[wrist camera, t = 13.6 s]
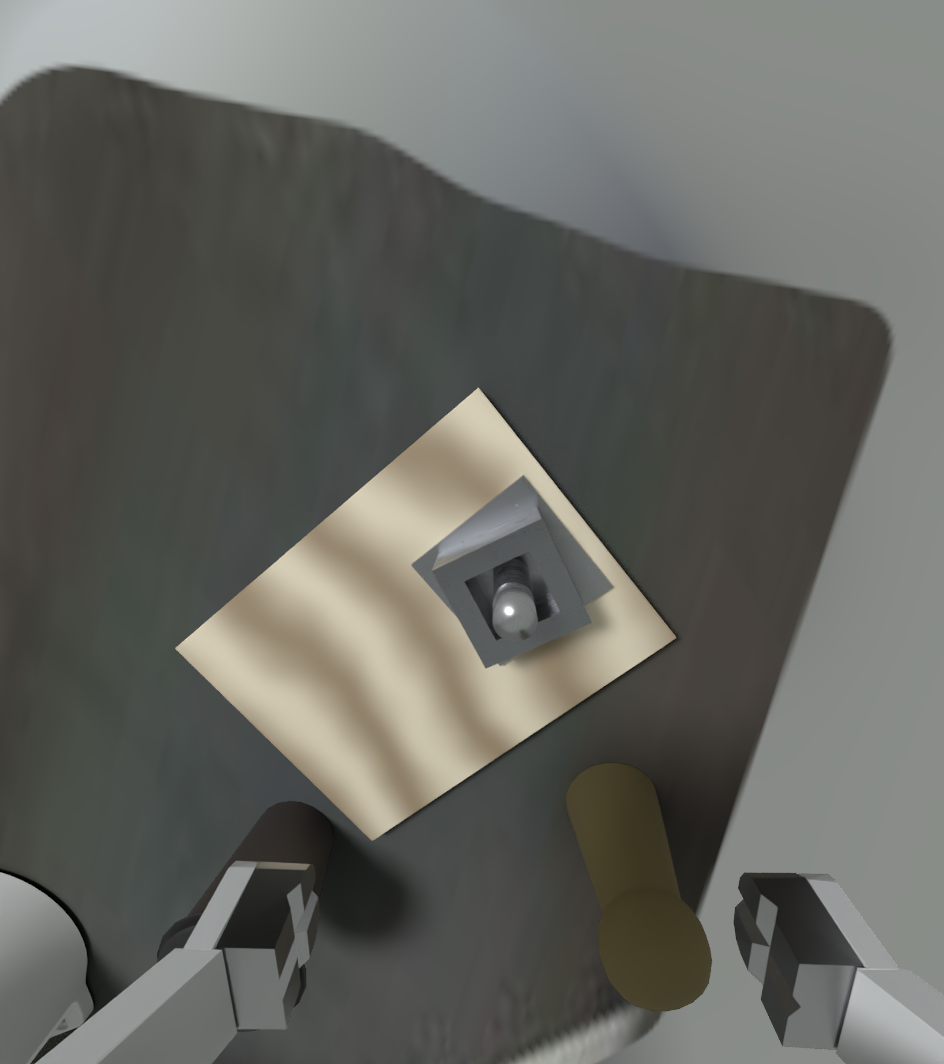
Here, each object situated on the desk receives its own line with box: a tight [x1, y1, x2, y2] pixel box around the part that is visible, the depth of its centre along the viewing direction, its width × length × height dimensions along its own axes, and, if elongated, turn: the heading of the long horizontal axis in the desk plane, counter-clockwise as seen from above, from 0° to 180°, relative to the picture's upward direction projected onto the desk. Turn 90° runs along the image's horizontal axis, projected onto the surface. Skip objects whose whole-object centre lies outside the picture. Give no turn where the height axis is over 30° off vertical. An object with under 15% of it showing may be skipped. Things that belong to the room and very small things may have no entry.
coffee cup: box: [157, 801, 333, 1032], centre depth 30 cm, size 8×8×10 cm
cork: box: [566, 763, 712, 1011], centre depth 28 cm, size 6×6×11 cm
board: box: [175, 388, 676, 841], centre depth 30 cm, size 24×18×1 cm
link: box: [432, 506, 592, 668], centre depth 27 cm, size 6×6×3 cm
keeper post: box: [411, 475, 613, 666], centre depth 25 cm, size 8×8×6 cm
